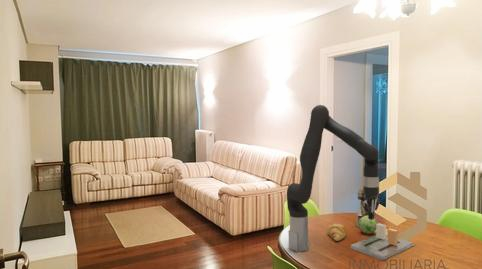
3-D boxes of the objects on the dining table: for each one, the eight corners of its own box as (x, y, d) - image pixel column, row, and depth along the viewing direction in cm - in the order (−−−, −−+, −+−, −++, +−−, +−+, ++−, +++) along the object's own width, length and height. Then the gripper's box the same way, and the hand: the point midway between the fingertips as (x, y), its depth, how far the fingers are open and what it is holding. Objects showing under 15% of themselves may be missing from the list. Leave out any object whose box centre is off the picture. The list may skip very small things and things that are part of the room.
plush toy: (350, 227, 198) (359, 186, 196) (349, 220, 211) (358, 182, 209) (375, 234, 194) (385, 192, 192) (373, 227, 208) (382, 187, 205)
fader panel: (383, 260, 156) (383, 256, 156) (350, 248, 171) (350, 244, 170) (413, 246, 171) (413, 242, 171) (380, 236, 186) (380, 232, 185)
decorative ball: (379, 236, 185) (378, 218, 184) (360, 236, 187) (359, 218, 186) (375, 230, 195) (375, 213, 194) (357, 230, 197) (357, 213, 196)
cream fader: (383, 239, 175) (383, 225, 174) (376, 237, 178) (376, 224, 178) (386, 238, 176) (385, 224, 176) (379, 236, 180) (378, 223, 179)
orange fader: (395, 245, 167) (394, 231, 166) (387, 243, 170) (387, 229, 170) (397, 244, 168) (397, 230, 168) (390, 241, 171) (390, 228, 171)
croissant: (342, 249, 179) (349, 236, 177) (325, 239, 180) (332, 227, 179) (341, 234, 199) (347, 222, 198) (325, 225, 201) (331, 214, 199)
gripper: (369, 188, 163) (369, 223, 164) (385, 184, 170) (385, 218, 171) (356, 185, 169) (356, 220, 170) (372, 182, 177) (372, 215, 178)
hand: (371, 219), depth 171 cm, fingers closed
